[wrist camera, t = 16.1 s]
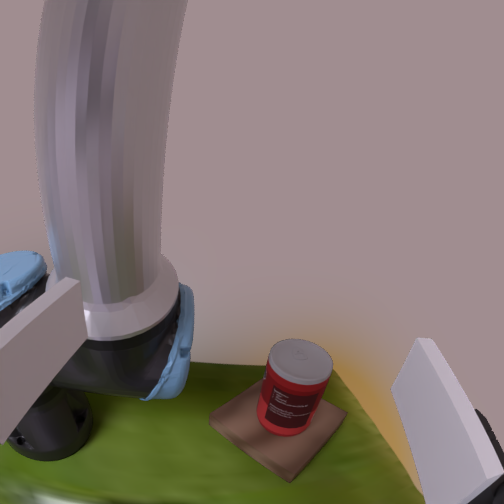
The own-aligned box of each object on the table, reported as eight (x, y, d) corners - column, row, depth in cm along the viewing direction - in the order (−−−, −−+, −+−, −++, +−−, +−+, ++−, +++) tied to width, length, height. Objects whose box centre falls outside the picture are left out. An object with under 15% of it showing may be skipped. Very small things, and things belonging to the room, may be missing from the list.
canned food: (291, 391, 42) (308, 333, 38) (321, 427, 36) (347, 369, 32) (245, 404, 39) (257, 344, 35) (272, 445, 32) (292, 388, 28)
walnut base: (208, 424, 37) (209, 413, 36) (270, 381, 47) (273, 370, 46) (289, 483, 29) (294, 474, 28) (342, 422, 39) (347, 412, 38)
